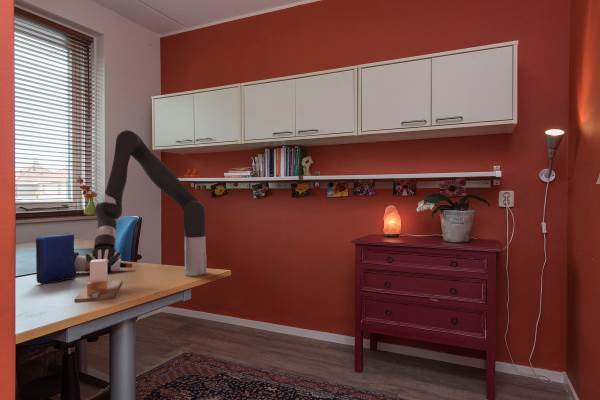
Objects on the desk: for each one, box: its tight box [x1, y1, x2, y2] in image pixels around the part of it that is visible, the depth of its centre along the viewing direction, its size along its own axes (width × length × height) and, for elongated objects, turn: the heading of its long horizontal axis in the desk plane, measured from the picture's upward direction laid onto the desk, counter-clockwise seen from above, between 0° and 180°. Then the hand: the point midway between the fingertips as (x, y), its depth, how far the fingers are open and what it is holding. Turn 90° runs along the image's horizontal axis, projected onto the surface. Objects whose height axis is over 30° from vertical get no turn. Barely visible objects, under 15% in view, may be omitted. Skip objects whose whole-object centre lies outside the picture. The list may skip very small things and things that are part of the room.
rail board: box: [74, 279, 123, 303], centre depth 142 cm, size 12×26×5 cm, turn 20°
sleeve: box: [89, 259, 109, 286], centre depth 139 cm, size 5×5×11 cm
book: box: [35, 232, 77, 285], centre depth 159 cm, size 14×5×20 cm, turn 150°
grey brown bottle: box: [74, 251, 133, 274], centre depth 177 cm, size 10×34×10 cm, turn 106°
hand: (101, 274), depth 144 cm, fingers closed
